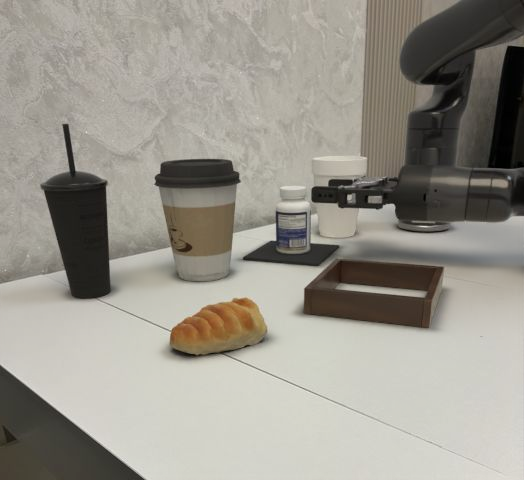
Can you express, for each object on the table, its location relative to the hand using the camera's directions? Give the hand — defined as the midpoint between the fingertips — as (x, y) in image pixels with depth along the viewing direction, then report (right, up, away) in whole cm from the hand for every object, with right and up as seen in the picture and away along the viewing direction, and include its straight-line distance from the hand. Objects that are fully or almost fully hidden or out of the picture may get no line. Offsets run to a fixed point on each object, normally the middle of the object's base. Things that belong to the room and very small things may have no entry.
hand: (320, 190), depth 81 cm
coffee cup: (-17, -13, -4) cm, 22 cm away
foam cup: (+5, -3, +18) cm, 19 cm away
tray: (+5, -18, -17) cm, 25 cm away
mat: (-4, -8, +5) cm, 11 cm away
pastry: (-13, -23, -27) cm, 37 cm away
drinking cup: (-31, -17, -11) cm, 37 cm away
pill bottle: (-4, -8, +5) cm, 11 cm away
